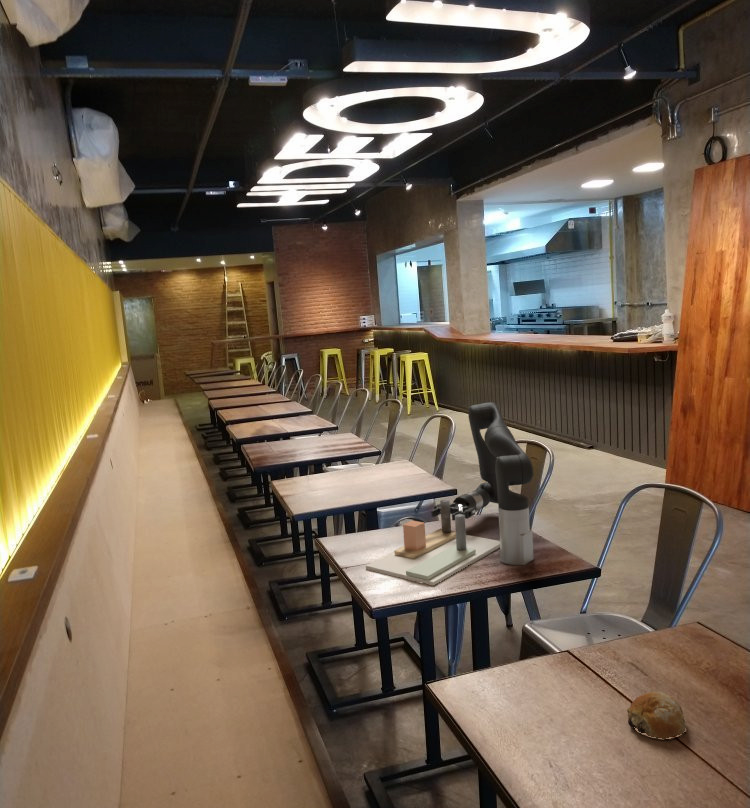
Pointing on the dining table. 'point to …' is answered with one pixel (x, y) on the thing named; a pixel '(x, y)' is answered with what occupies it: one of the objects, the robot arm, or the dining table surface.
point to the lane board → (401, 564)
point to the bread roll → (656, 715)
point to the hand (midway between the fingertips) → (442, 515)
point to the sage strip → (445, 555)
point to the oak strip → (433, 534)
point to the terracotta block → (414, 535)
